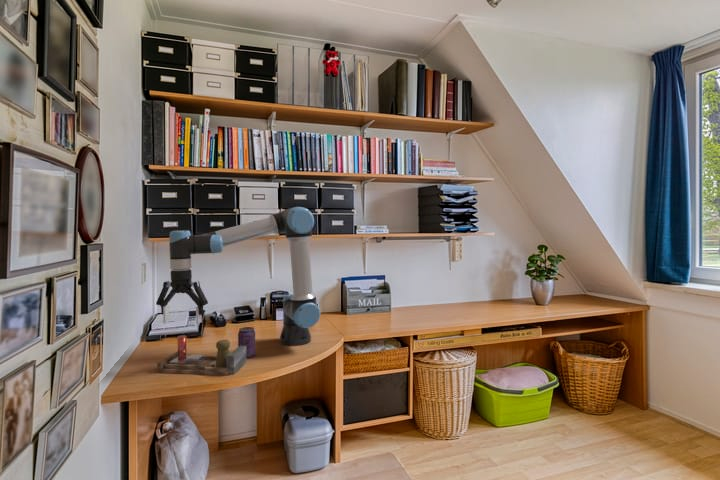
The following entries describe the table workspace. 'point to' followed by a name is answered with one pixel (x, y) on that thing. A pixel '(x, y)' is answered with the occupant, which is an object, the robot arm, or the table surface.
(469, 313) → the table surface
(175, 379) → the table surface
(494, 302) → the table surface
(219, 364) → the cork
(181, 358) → the ram
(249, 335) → the beverage can
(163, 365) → the base
